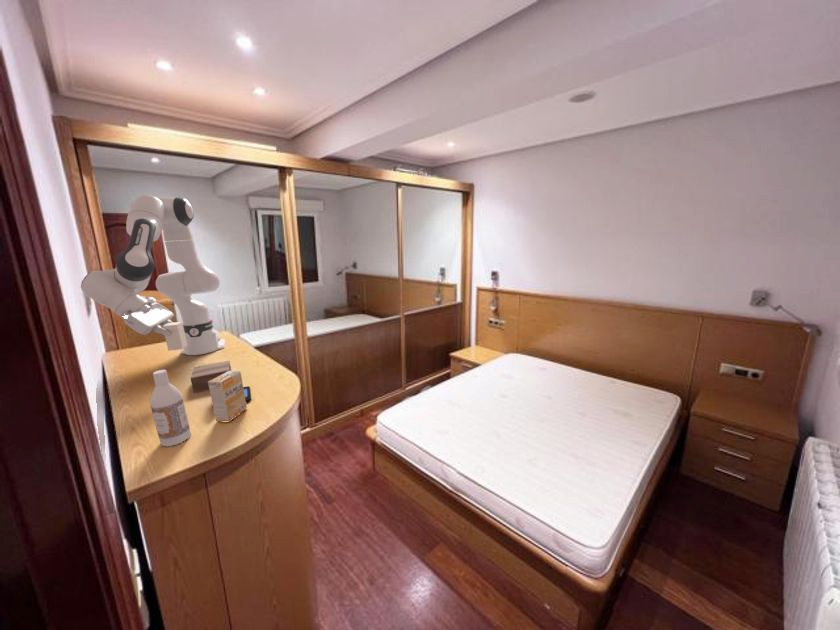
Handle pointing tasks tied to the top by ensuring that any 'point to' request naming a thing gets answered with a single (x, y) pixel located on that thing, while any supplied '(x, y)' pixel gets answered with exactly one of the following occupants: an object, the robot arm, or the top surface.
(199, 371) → the walnut block
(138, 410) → the top surface
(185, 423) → the bath foam
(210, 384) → the supplement box
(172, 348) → the cream block
